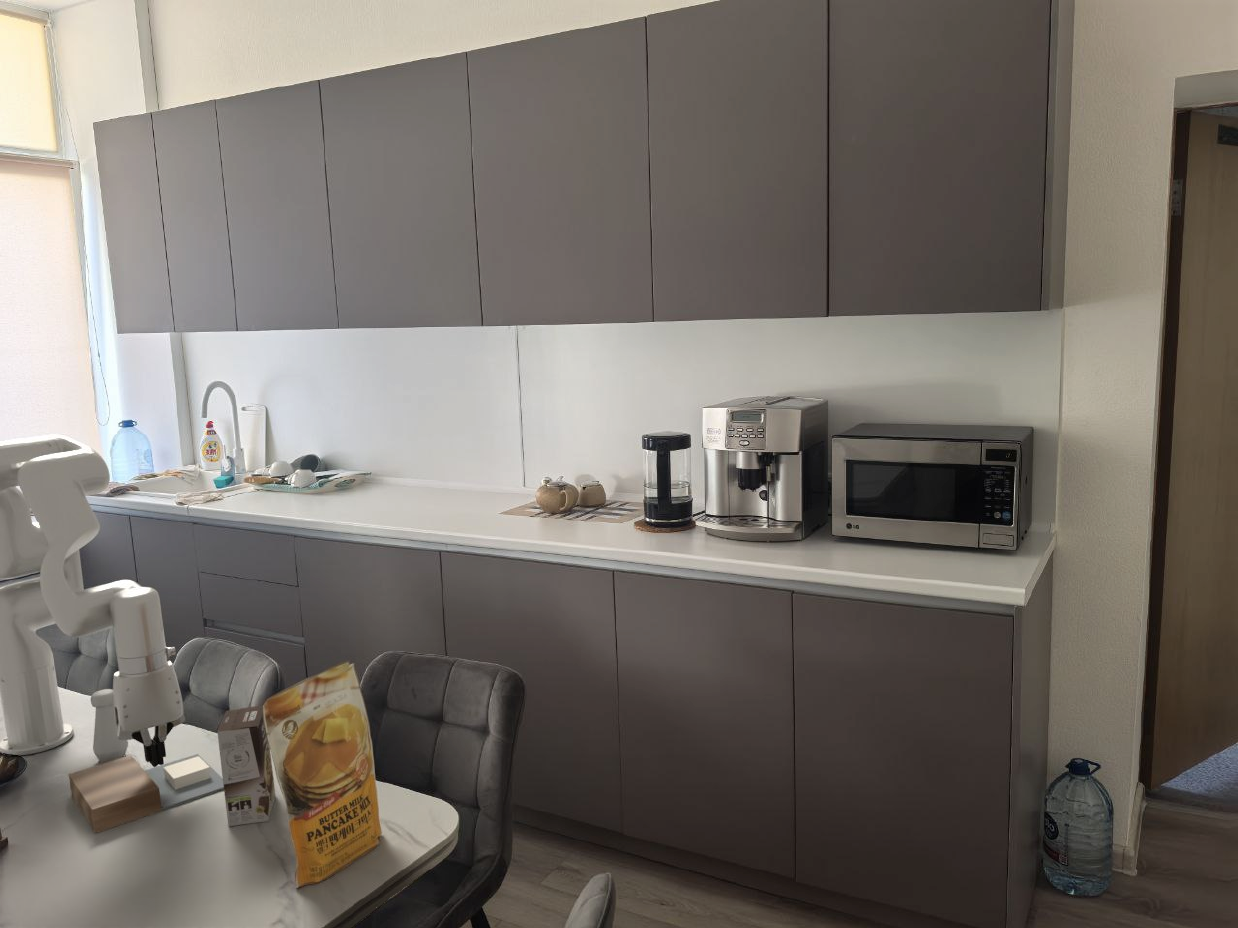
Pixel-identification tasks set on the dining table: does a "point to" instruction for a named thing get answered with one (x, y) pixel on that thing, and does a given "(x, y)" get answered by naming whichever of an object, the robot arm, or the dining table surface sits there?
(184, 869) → the dining table surface
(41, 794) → the dining table surface
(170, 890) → the dining table surface
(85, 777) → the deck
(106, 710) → the salt shaker
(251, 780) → the coffee box
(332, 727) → the pancake mix bag
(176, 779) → the cream square block
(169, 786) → the mat
